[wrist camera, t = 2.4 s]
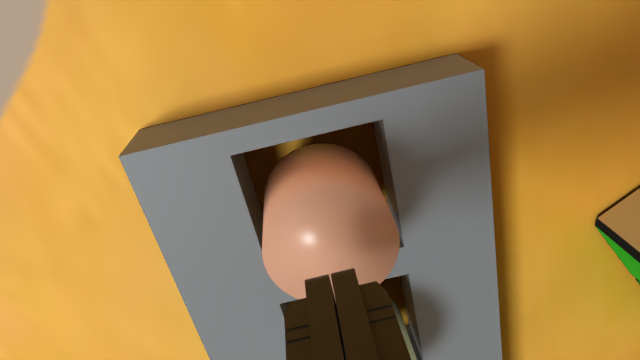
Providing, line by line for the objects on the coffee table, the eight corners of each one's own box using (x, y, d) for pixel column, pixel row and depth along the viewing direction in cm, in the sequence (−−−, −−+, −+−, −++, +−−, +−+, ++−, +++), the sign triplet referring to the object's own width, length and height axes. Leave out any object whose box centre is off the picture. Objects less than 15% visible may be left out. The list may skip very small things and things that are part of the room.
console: (456, 53, 20) (484, 69, 17) (487, 408, 30) (508, 452, 28) (139, 129, 20) (118, 156, 18) (275, 456, 30) (275, 504, 28)
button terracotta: (367, 131, 19) (388, 173, 15) (385, 230, 21) (408, 287, 17) (250, 158, 19) (244, 207, 15) (280, 254, 21) (281, 317, 17)
